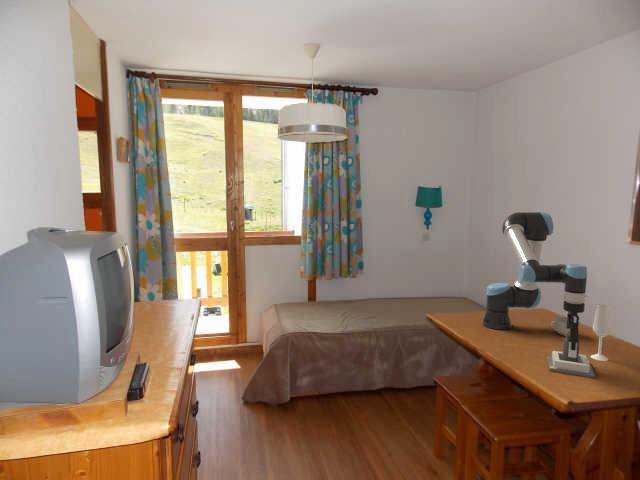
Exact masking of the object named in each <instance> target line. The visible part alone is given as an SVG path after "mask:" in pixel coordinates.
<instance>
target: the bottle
mask: <svg viewBox="0 0 640 480" xmlns="http://www.w3.org/2000/svg"><path fill="white" fill-rule="evenodd" d="M579 332H580V330H578V339H579V338H580V335H579ZM568 340H570V329H566V333H565V338H563V344H562V352H563V353H562V360H563V361H570V362H577V363H578V356H579V354H580V340H578V343H577V354H576V358H574V357H568V354H569V342H568Z"/></svg>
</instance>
